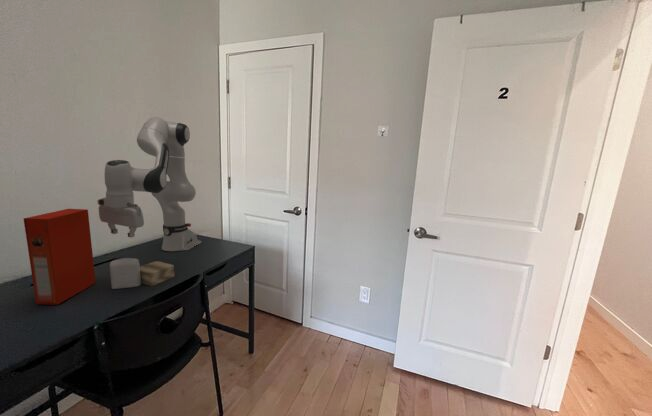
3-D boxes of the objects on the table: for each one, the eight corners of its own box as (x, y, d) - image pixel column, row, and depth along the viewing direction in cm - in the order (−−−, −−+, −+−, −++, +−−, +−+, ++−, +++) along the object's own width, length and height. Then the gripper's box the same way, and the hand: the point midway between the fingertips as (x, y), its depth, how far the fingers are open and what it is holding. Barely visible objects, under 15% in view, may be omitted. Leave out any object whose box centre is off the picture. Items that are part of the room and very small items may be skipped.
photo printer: (109, 290, 113) (107, 261, 111) (113, 285, 117) (110, 257, 115) (139, 287, 117) (138, 259, 115) (142, 282, 121) (140, 255, 119)
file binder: (35, 304, 101) (23, 217, 95) (75, 282, 118) (67, 208, 112) (58, 305, 101) (47, 219, 95) (95, 283, 118) (88, 209, 112)
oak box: (157, 272, 133) (157, 260, 131) (174, 277, 129) (174, 265, 127) (134, 281, 122) (133, 268, 121) (151, 287, 119) (151, 274, 117)
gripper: (147, 203, 110) (149, 237, 113) (110, 198, 117) (113, 229, 119) (131, 205, 105) (134, 241, 107) (94, 199, 111) (97, 233, 113)
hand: (122, 235), depth 113 cm, fingers open, 8 cm apart
